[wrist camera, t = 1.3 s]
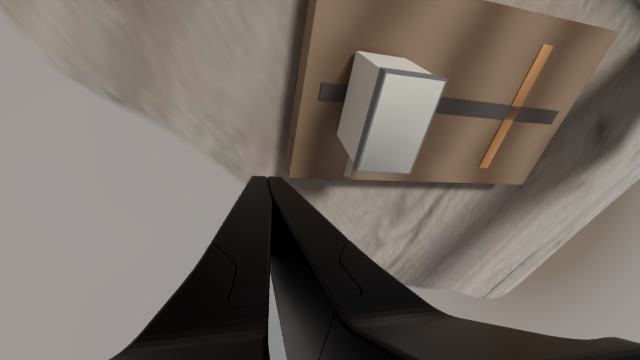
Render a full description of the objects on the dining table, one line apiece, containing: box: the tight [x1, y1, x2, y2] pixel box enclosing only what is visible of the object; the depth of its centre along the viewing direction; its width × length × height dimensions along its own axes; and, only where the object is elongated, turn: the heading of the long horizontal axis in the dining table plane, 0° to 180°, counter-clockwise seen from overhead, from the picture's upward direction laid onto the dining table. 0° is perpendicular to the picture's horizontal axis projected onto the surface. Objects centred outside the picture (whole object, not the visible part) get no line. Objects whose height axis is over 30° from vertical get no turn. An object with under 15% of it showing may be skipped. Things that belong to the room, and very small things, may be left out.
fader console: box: [285, 0, 619, 185], centre depth 22 cm, size 20×12×2 cm, turn 79°
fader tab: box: [337, 51, 448, 174], centre depth 17 cm, size 3×5×4 cm, turn 169°
